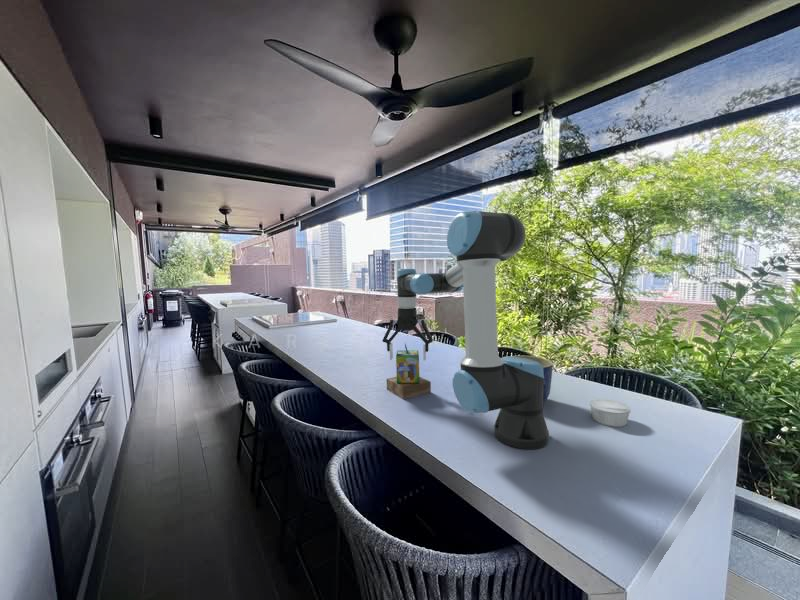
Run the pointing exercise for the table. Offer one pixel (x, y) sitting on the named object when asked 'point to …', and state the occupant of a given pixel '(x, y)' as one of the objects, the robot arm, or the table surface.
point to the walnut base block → (408, 388)
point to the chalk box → (407, 366)
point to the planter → (546, 371)
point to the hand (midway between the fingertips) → (407, 359)
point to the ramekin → (609, 412)
